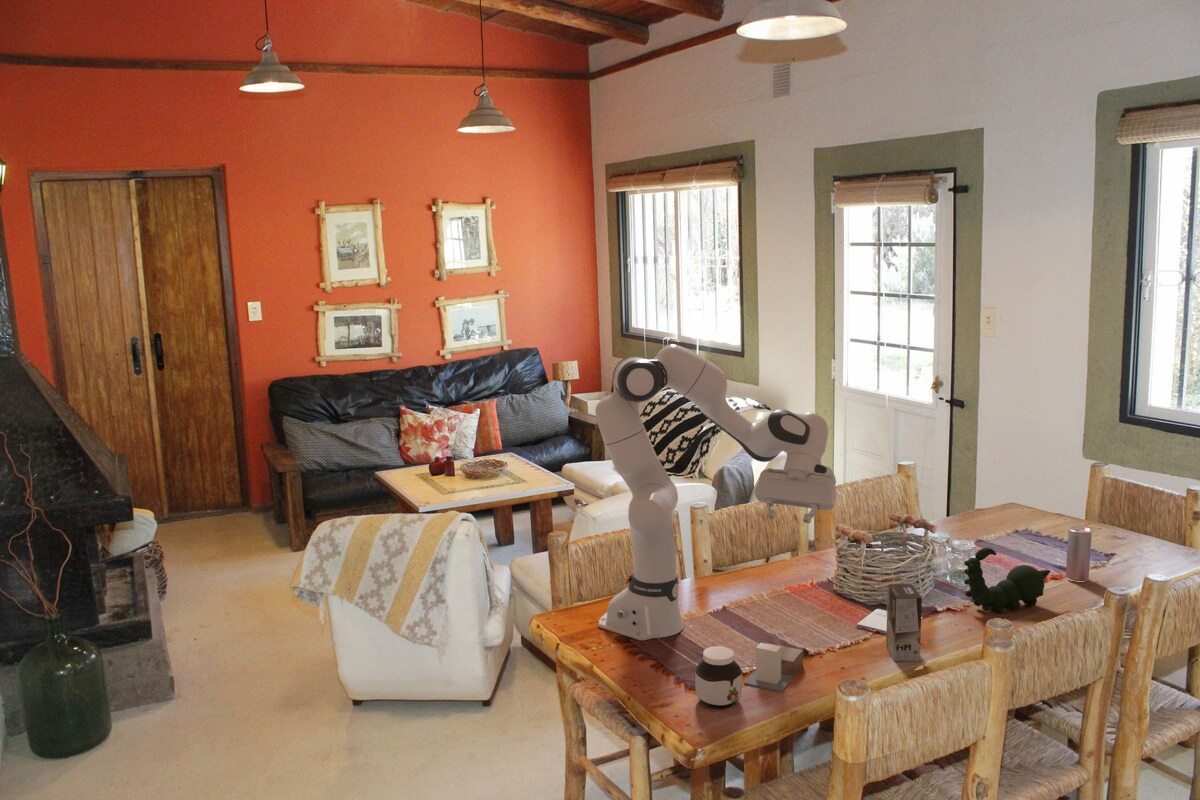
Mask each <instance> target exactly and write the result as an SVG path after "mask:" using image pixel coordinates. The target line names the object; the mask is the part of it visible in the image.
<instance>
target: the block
mask: <svg viewBox="0 0 1200 800" xmlns="http://www.w3.org/2000/svg"><path fill="white" fill-rule="evenodd" d="M770 644H771V643H770ZM770 644H767V643H764V642H760V643H759V644H758V645H757V646H756V647H755V670H756V680H759V681H764V682H768V683H773V684H777V683H778V682H779V681H780V680H781V647H780V646H781V645H780V646H775V645H776V644H775V645H770Z"/></svg>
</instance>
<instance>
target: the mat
mask: <svg viewBox="0 0 1200 800" xmlns="http://www.w3.org/2000/svg"><path fill="white" fill-rule="evenodd" d="M793 679H794V677H793V676H790V675H785V674H781V680H780V681H779V682H778V683H777V684H773V683H768V682H764V681H759V680H756V669H755V670H754V671H753V672H752V673H751V675H749V677H748V678H747V679H746V680H745V681H744V683H743V684H744V685H746V686H749V687H750V686H751V687H753V688H754V687H755V688H760V689H764V690H768V691H774V692H778V693H783V691H784V690H785V689H786V688H787V686H788V685H789V684H790V683H791V681H792V680H793Z"/></svg>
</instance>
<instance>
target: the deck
mask: <svg viewBox="0 0 1200 800" xmlns="http://www.w3.org/2000/svg"><path fill="white" fill-rule="evenodd" d="M766 644H770V645H775V646H780V647H781V674H785V675H790V676H793V678H795V676H796V675H797V674H798V673H799V671H800V670H801V669H802V668H803V666H804V650H803V649H800V648H794V647H790V646H785V645H780V644H773V643H770V642H767V643H766Z"/></svg>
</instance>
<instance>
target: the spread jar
mask: <svg viewBox="0 0 1200 800" xmlns="http://www.w3.org/2000/svg"><path fill="white" fill-rule="evenodd" d="M742 670H743V669H742V668H741V666H740V665H739V663H738V662H737V661H736V660H735V653H734V651H733V650H732V649H731V648H729V647H726V646H718V645H717V646H709V647H707V648H706V649H704V650H703V652H702V659H701V661H700V662H699V663H698V665H697V666H696V668H695V673H694V674H695V675H694V687H695V693H696V696H697V697H698V699H699V700H700V701H701V703H703V704H704V705H706V706H707V707H709V708H712V709H715V710H717V709H718V710H719V709H720V710H723V709H728V708H731V707H732V706H734V705H735V704H736V703H737V702H738V701H739V700H740V698H741V697H742V694H743V672H742Z"/></svg>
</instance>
